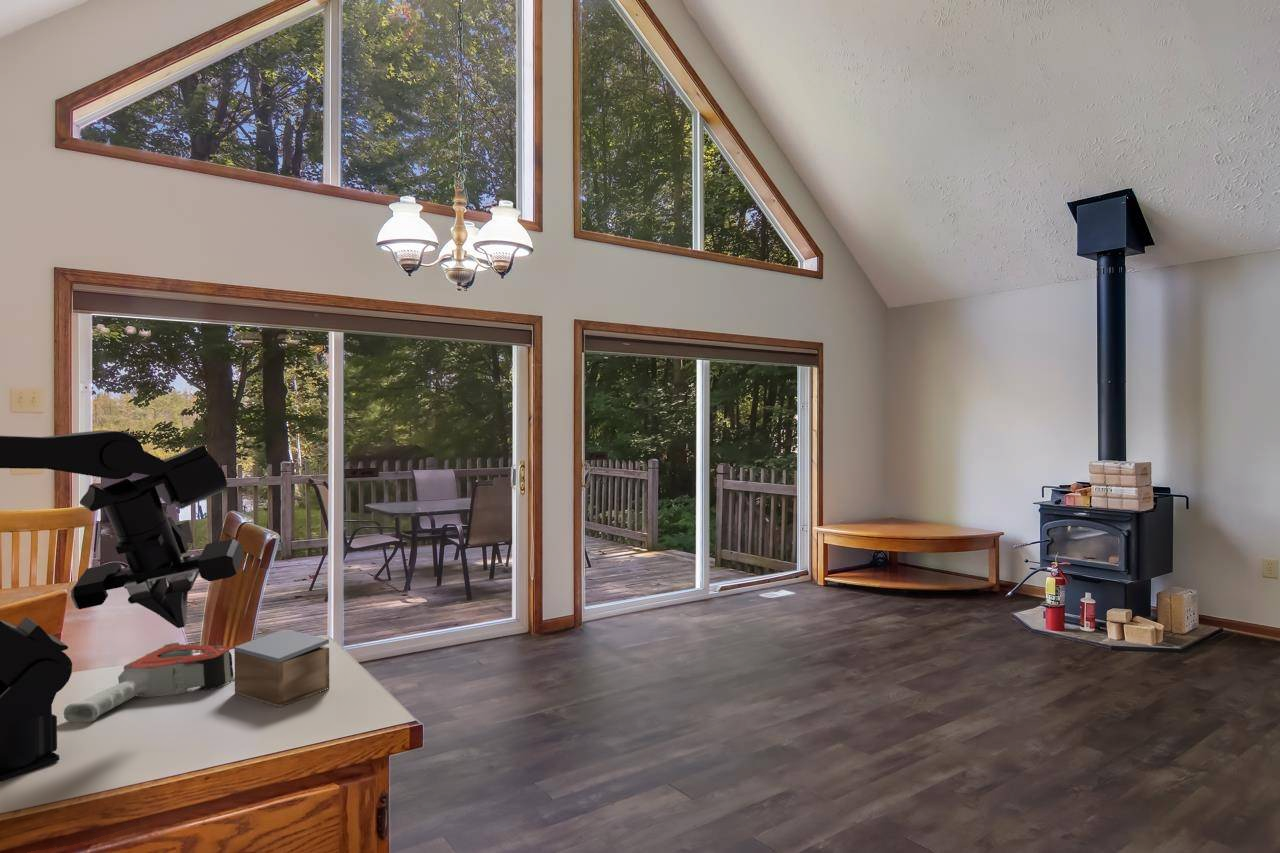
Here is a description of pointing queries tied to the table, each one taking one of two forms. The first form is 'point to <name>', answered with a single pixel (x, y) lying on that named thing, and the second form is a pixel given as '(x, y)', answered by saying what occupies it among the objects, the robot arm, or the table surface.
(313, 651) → the box
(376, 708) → the table surface
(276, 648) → the lid
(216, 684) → the tape dispenser
